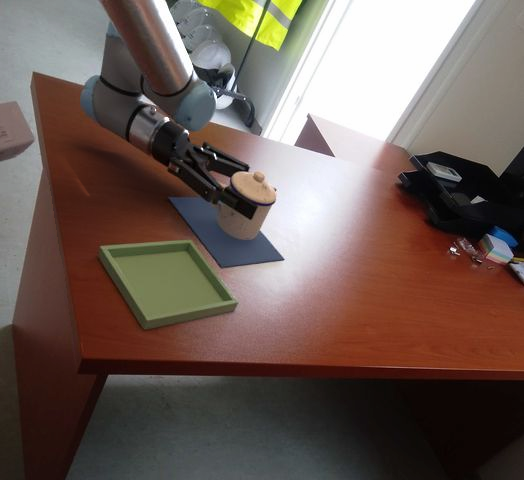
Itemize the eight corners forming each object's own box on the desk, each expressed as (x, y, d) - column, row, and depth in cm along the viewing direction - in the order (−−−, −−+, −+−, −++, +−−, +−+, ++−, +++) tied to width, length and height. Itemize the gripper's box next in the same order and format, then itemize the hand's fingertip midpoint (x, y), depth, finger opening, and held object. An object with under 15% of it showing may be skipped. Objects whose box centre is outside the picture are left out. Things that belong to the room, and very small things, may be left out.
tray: (97, 256, 70) (99, 245, 69) (187, 248, 81) (191, 239, 79) (144, 330, 64) (147, 320, 63) (234, 310, 75) (239, 302, 74)
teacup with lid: (256, 219, 93) (281, 169, 85) (259, 247, 88) (285, 196, 80) (200, 200, 89) (220, 146, 81) (199, 228, 83) (220, 172, 75)
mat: (167, 198, 88) (168, 197, 88) (231, 198, 99) (231, 197, 99) (221, 268, 81) (221, 267, 81) (284, 260, 91) (284, 259, 91)
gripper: (131, 131, 73) (249, 206, 73) (194, 109, 90) (291, 170, 90) (122, 173, 78) (233, 243, 78) (183, 144, 95) (275, 202, 95)
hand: (264, 204), depth 84 cm, fingers closed on teacup with lid, 9 cm apart
